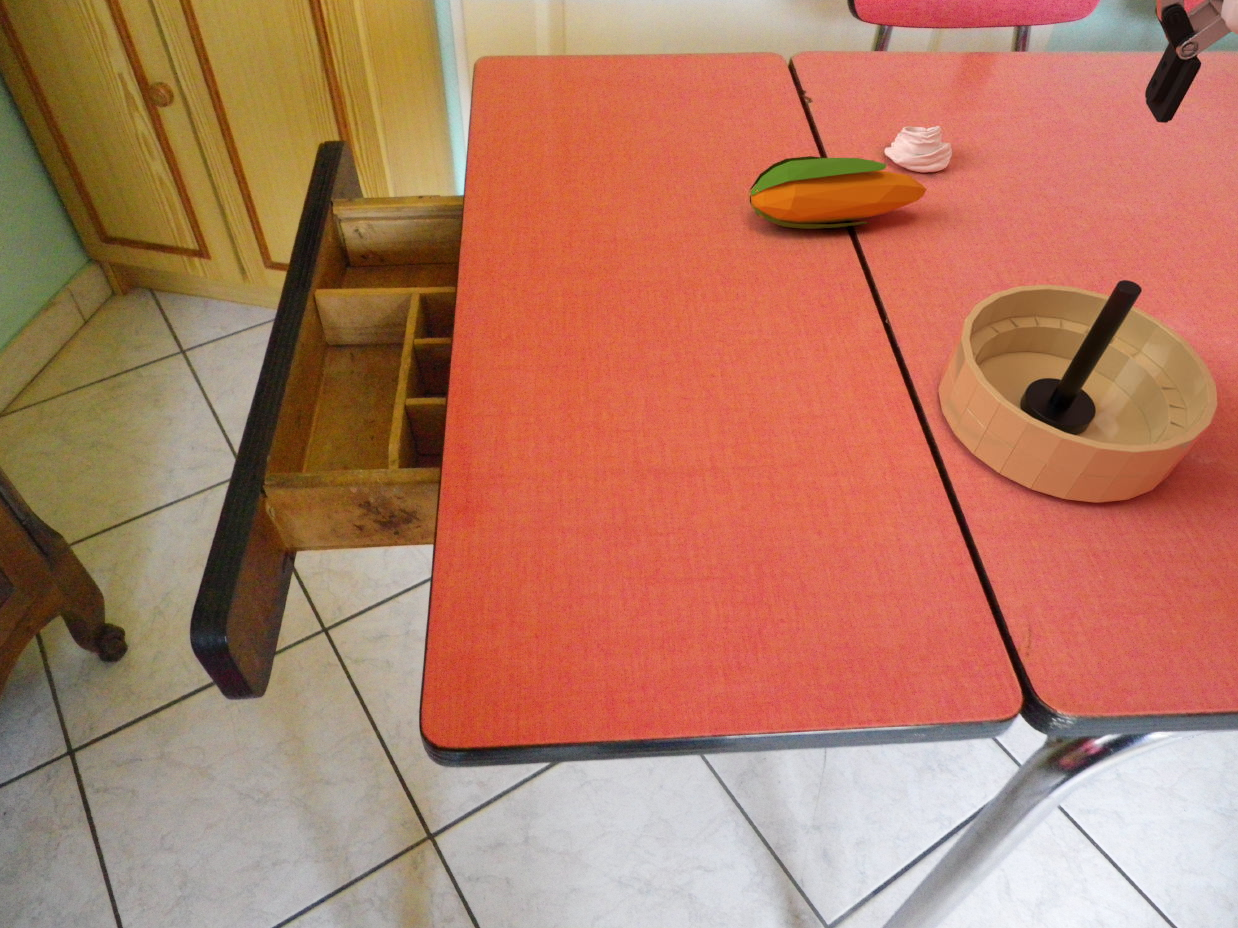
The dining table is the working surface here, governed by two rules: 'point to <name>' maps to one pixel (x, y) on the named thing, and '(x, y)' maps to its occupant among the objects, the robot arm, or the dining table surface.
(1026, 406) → the black plunger
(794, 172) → the corn
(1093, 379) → the bowl
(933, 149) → the whipped cream
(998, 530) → the dining table surface
